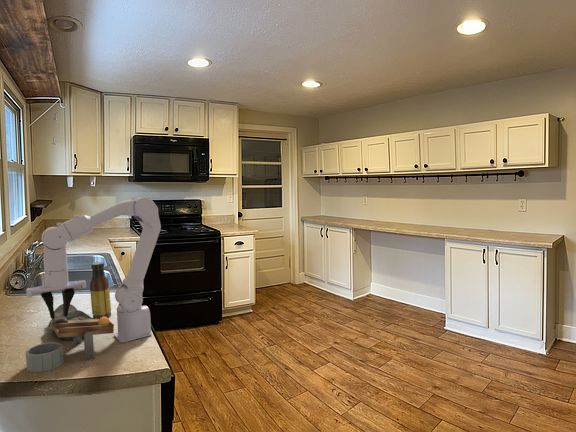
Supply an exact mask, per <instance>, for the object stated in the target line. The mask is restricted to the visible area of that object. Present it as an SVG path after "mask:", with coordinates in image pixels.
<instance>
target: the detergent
mask: <svg viewBox="0 0 576 432" xmlns="http://www.w3.org/2000/svg"><path fill="white" fill-rule="evenodd" d="M54 315H55V318H60V317H66V319H67V320H72V319H74V318H80V320H87V319H93V318H92V317H91V316H90V315H89V314H87V313H86V312H84V311H82V310H79V309H77V307H76V306H75V305H73V304H71V303H70V306H69V310H68V316H64V314H63V303H62V304H60V305H58V306H57V307H56V308H54ZM51 321H53V319H50V320H49V322H48V325H47V326H46V330H47V331H49V332H50V333H51V334H53V336H55V337H57V338H59V339H61V340H64V341H65V340H67V341H71V340H72V341H73V336H71V337H58V336H57V335H56V333H55V332H54V330H53V328H52V327H51V325H50V322H51ZM81 338H84V336H81Z"/></svg>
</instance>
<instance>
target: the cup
mask: <svg viewBox="0 0 576 432" xmlns="http://www.w3.org/2000/svg"><path fill="white" fill-rule="evenodd" d="M25 362H26V363H25V364H26V365H25V367H26V370H27V372H29V371H30V372H29V373H43V372H48V371H52V370H54V369H56V368H58V367H61V366H62V364H63V363H64V347H63V344H62V343H60V342H56V341H53V342H51V341H50V342H43V343H40V344H36V345H34V346H31V347H29V348H28V349H27V350H26V351H25Z"/></svg>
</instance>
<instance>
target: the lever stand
mask: <svg viewBox="0 0 576 432" xmlns="http://www.w3.org/2000/svg"><path fill="white" fill-rule="evenodd" d="M76 319H78V320H80V318H74V319H72V320H76ZM72 343H73V345H77V344H82V343H84V346H83V347H84V360H85V361H86V362H88V361H91V360H95V347H94V335H93V332H92V331H90V332H85V333H84V336H83V342H82V337H81V336H73V339H72Z"/></svg>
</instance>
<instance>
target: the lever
mask: <svg viewBox="0 0 576 432" xmlns="http://www.w3.org/2000/svg"><path fill="white" fill-rule="evenodd" d="M50 321H51V320H50ZM50 321H49V323H50V325H51V327H52V328H53V330H54V332H55V333H56V335H57V336H58V337H57V336H56V337H57V338H59V337H71V336H83V337H84V333H85V332H90V331H92V332H93V336H94V335H107V334H115V329H114V328H115V325H114V323H113V322H111V321H110V323H109V325H99V324H98V321H99V319H95V318H92V319H87V320H78V319H76V320H67V319H66V317H60V318H54V319H53V321H51V322H50Z"/></svg>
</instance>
